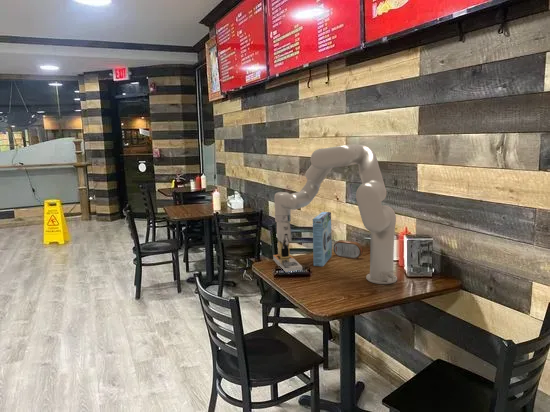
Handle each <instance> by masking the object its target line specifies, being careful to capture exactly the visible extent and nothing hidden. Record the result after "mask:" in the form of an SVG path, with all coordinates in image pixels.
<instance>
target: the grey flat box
mask: <svg viewBox="0 0 550 412" xmlns="http://www.w3.org/2000/svg"><path fill="white" fill-rule="evenodd" d="M272 258H273V262H275V264H276V265H277V266H278V267H279V266H280V267H281V268H282V269H283V270H284V271H285V272H288V271H295V270H302V271H303V266H302V264H300V263H299V262H298V261H297V260H296V259H295V258H294V257H293V256H292V255H291V254H290V258H289V259H279V258H278V254H273V255H272ZM280 267H279V268H280ZM281 268H280V269H281ZM282 269H281V270H282Z"/></svg>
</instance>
